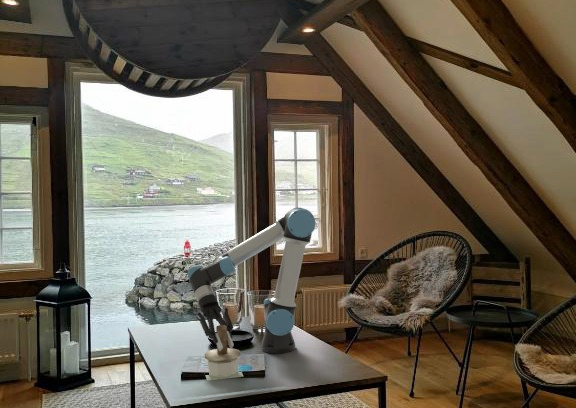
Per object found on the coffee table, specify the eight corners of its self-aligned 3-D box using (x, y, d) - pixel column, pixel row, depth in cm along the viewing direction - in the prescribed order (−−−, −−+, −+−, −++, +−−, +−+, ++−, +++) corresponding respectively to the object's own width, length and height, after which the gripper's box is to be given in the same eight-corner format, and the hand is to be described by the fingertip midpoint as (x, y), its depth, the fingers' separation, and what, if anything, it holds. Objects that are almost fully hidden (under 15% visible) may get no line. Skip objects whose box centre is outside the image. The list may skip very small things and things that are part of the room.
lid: (232, 348, 233) (230, 320, 233) (246, 356, 221) (245, 327, 221) (199, 354, 227) (198, 325, 226) (212, 363, 215) (210, 333, 214)
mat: (238, 366, 233) (238, 365, 233) (243, 377, 219) (243, 376, 219) (203, 370, 229) (203, 369, 229) (207, 382, 216) (206, 380, 216)
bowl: (235, 366, 231) (234, 353, 231) (239, 375, 220) (238, 361, 220) (207, 369, 228) (207, 356, 228) (210, 378, 217) (209, 364, 217)
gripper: (222, 301, 241) (242, 349, 228) (184, 307, 232) (203, 357, 218) (227, 290, 236) (248, 338, 223) (189, 296, 227) (209, 346, 214)
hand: (226, 347), depth 221 cm, fingers closed on lid, 4 cm apart
